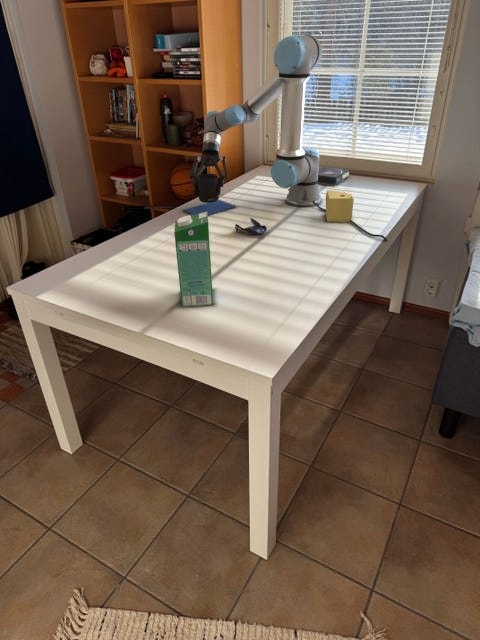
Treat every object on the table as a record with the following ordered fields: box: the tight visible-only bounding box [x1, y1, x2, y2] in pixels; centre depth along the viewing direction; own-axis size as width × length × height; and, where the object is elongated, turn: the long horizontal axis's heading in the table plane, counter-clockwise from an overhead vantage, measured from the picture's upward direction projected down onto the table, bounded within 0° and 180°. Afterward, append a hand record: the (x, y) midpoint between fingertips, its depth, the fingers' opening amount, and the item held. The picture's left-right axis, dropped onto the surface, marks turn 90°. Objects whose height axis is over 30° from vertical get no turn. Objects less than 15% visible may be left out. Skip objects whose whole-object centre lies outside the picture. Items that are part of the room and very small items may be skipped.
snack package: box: [234, 217, 268, 236], centre depth 180 cm, size 12×6×12 cm
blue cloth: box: [182, 199, 237, 216], centre depth 206 cm, size 12×20×1 cm, turn 128°
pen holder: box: [197, 173, 220, 204], centre depth 202 cm, size 9×9×10 cm
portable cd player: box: [318, 165, 350, 186], centre depth 241 cm, size 16×17×4 cm
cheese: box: [325, 190, 355, 223], centre depth 191 cm, size 10×11×10 cm
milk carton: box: [173, 211, 214, 307], centre depth 132 cm, size 9×9×25 cm
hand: (207, 193), depth 200 cm, fingers closed on pen holder, 9 cm apart
